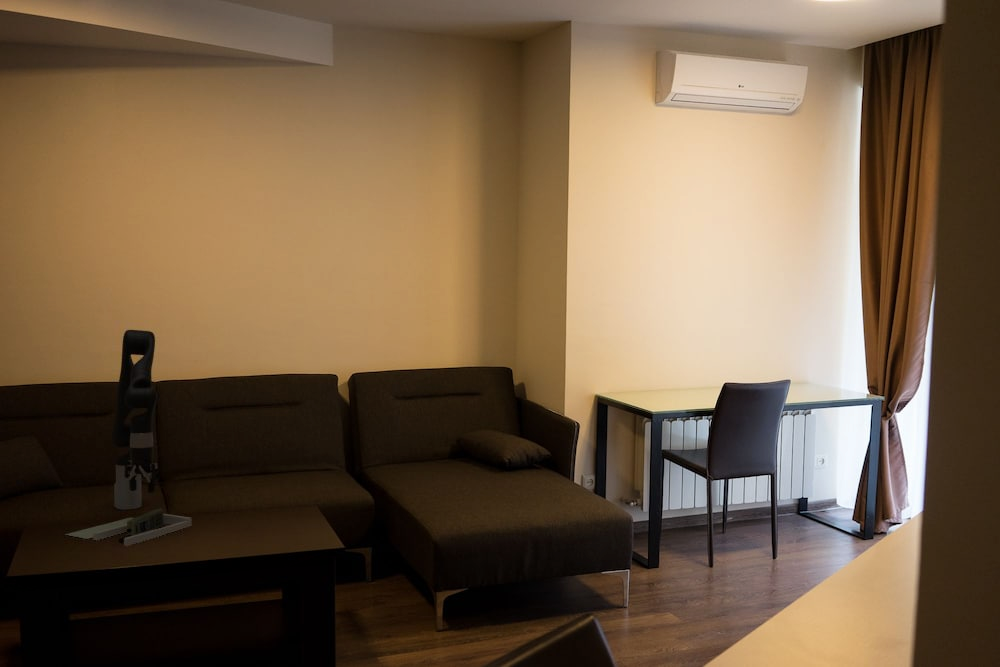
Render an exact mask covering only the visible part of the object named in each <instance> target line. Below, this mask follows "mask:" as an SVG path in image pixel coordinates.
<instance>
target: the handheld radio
mask: <svg viewBox="0 0 1000 667" xmlns="http://www.w3.org/2000/svg"><path fill="white" fill-rule="evenodd" d="M163 514H164V508H156V509H154V510H151V511H149V512H147V513H144V514H141V515H138V516H135V517H132V518H133V519H131V520H128V521H127V533H126V534H127V535H126V536H123V537H121V538H119V539H118V542H119V543H124V538H127V537H130V536H134V535H137V534H141V533H145V532H148V531H152V530H154V529H156V528H158V527H160V526H163V525H164V518H163ZM164 526H165V525H164ZM164 526H163V527H164ZM158 529H159V528H158Z"/></svg>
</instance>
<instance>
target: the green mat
mask: <svg viewBox="0 0 1000 667" xmlns="http://www.w3.org/2000/svg"><path fill="white" fill-rule="evenodd" d="M133 518H134V517H126V518H123V519H119V520H116V521H113V522H108V523H104V524H101V525H97V526H94V527H93V526H91V527H89V528H85V529H81V530H76V531H74V532H70V533H65V534H64V536H65V535H69V536H73V537H72V538H74V537H79V538H83V539H82V540H85V539H89V540H91V539H90V538H92V539H93V533H96V532H100V531H103V530H107V529H111V528H115V527H118V526H122V525H126V524H127V521H128V520H131V519H133ZM79 538H78V539H79Z"/></svg>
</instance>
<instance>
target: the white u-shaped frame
mask: <svg viewBox="0 0 1000 667" xmlns="http://www.w3.org/2000/svg"><path fill="white" fill-rule="evenodd" d="M163 518H164V524H171V525H165V526H163V527H161V528H158V529H155V530H152V531H148V532H145V533H141V534H137V535H134V536H130V537H127V538H124V541H123V546H124V547H130V546H133V544H134V545H137V544H140V543H143V541H144V542H147V541H150V539H151V540H153V538H154V539H156V537H157V538H160V537H159V536H161V537H163V536H162V535H164V536H166V535H165V534H167V533H171V532H174V531H177V530H180V529H183V528H186V527H189V526H192V522H193V521H192V517H189V516H188V517H187V516H182V515H174V514H168V513H163ZM124 532H127V524H126V525H122V526H118V527H115V528H111V529H107V530H103V531H100V532H96V533H93V538H92V539H93V541H94V540H96V541H95V542H98V541H100V539H102V540H105V539H104V538H106V539H108V538H107V537H109V538H112V537H111V536H113V537H115V536H114V535H116V536H118V535H117V534H120V535H122V534H121V533H124ZM174 533H175V532H174ZM124 534H125V533H124ZM171 534H172V533H171ZM97 540H98V541H97ZM146 540H147V541H146ZM136 543H137V544H136Z"/></svg>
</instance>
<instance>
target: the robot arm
mask: <svg viewBox="0 0 1000 667" xmlns="http://www.w3.org/2000/svg"><path fill="white" fill-rule="evenodd" d="M121 345H122V348H121V363H120V373H119V379H118V384H117V393H116V394H117V395H116V405H115V414H114V418H113V423H112V427H111V432H110V433H111V436H110V439H111V440H110V441H111V444H112V446H113V447H115V448H125V447H126V448H128V447H129V450H128V451H126V452H125V453H123V454H120V455H118V456H117V457H116V458H115V483H114V484H113V491H114V492H113V493H114V495H113V496H114V498H113V499H114V500H113V501H114V505H113V506H114V508H115V507H116V508H115V509H117V510H122V511H125V510H135V509H140V508H141V507H142V476H143V477H144V478H146V481H147V493H148V494H153V493H155V491H156V484H155V483H156V482H157V481H159V480H160V463H159V462H154V463H153V461H152V459H153V458H154V436H153V417H154V413H155V412H154V411H155V409H156V405H157V402H158V391H157V390H156V388H154V387H152V383H153V380H152V379H153V378H152V368H153V363H154V356H155V348H156V337H155V334H154V332H152V331H149V330H140V329H139V330H138V329H127V330H126V331H125V332H124V333H123V338H122V344H121ZM132 355H135V356H142V357H140V359H139V360H137V362H135V363H134V361H133V358H132ZM135 409H146V410H145V412H143V413H140V414H135V415H133V416H131V418H130V422H126V420H127V419H128V417H129V416H130V415H131V414H132V413H133V411H134V410H135Z"/></svg>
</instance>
